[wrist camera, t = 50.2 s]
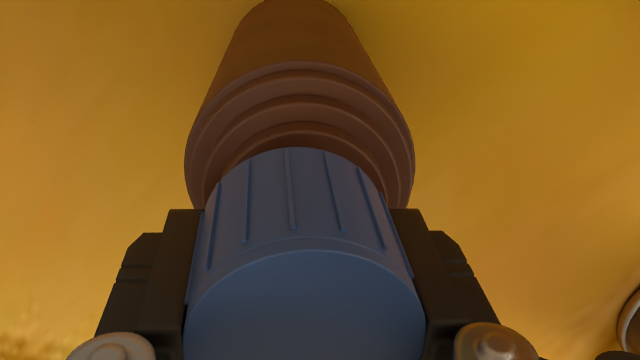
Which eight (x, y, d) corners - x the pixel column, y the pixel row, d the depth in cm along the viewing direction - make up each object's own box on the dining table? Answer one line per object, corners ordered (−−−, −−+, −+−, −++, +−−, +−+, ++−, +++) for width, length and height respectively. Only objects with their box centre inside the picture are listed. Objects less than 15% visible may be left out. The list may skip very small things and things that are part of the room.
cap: (172, 261, 11) (141, 393, 8) (253, 111, 10) (249, 208, 7) (328, 317, 13) (348, 450, 10) (420, 191, 11) (477, 302, 8)
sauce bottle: (386, 59, 25) (563, 315, 9) (298, 146, 26) (314, 492, 11) (291, -38, 23) (301, 72, 7) (202, 64, 24) (44, 342, 8)
